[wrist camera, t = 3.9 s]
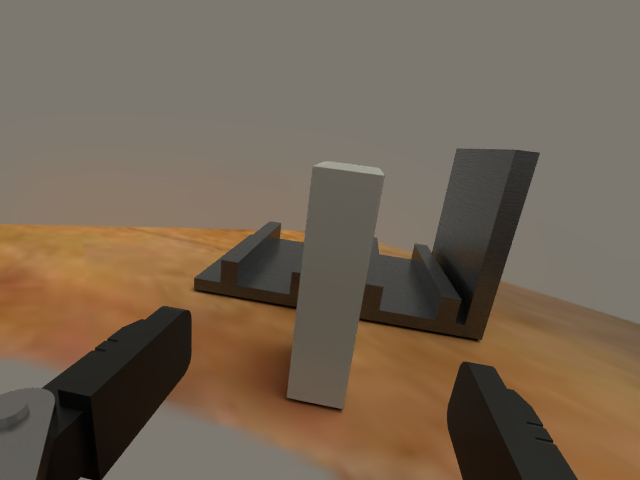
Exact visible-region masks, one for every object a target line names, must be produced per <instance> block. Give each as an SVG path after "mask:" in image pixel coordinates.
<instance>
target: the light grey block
mask: <svg viewBox="0 0 640 480" xmlns="http://www.w3.org/2000/svg"><path fill="white" fill-rule="evenodd" d="M384 177H385V175H384V174H383V173H382V171H381V170H380V168H375V167H368V166H360V165H353V164H345V163H338V162H330V161H325V162H322V163H319V164H317V165H314V166H313V169H312V177H311V186H310V195H309V204H308V213H307V221H306V222H307V223H306V230H305V239H304V248H303V257H302V266H301V274H300V283H299V292H298V301H297V310H296V319H295V327H294V336H293V345H292V354H291V363H290V372H289V380H288V389H287V398H291V399H296V400H301V401H305V402H310V403H315V404H320V405H325V406H330V407H335V408H340V409H343V407H344V401H345V395H346V390H347V384H348V379H349V373H350V367H351V362H352V356H353V351H354V345H355V339H356V334H357V328H358V323H359V317H360V311H361V306H362V300H363V295H364V289H365V283H366V278H367V272H368V266H369V261H370V255H371V250H372V244H373V238H374V233H375V227H376V222H377V216H378V210H379V205H380V199H381V194H382V188H383V182H384Z"/></svg>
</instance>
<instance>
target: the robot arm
mask: <svg viewBox="0 0 640 480" xmlns="http://www.w3.org/2000/svg"><path fill="white" fill-rule="evenodd" d="M191 323H192V319H191V313H190V311H189V310H184V309H179V308H173V307H168V306H163V307H161V308H159V309H158V310H157V311H156V312H154V313H153V314H152V315H150V316H149V317H148V318H147V319H145V320H143V319H141V320H139V321H136V322H134V323H132V324H129V325H127V326H125V327H122V328H121V329H120V330H118V331H117V332H116V333H114V334H113V335H112V336H110V337H109V338H108V340H107V341H104V342H102V343H101V344H100V345H99V346H97V347H96V348H95V350H94V351H91V352H89V353H88V354H87V355H85V356H84V357H83V358H81V359H80V360H79V361H77V362H76V363H75V364H73V365H72V366H71V367H69V368H68V369H67V370H65V371H64V372H63V373H61V374H60V375H59V376H57V377H56V378H55V379H53V380H52V381H51V382H49V383H48V384H47V385H45V386H44V387H43V388H26V389H19V390H15V391H11V392H8V393H5V394H2V395H0V480H78V479H79V478H80V477H83V478H87V479H91V480H102V479H103V477H104V476H105V475H106V474H107V472H108V471H109V470H110V468H111V467H112V466H113V465H114V463H115V462H116V461H117V460H118V458H119V457H120V456H121V455H122V453H123V452H124V451H125V449H126V448H127V447H128V446H129V444H130V443H131V442H132V441H133V439H134V438H135V437H136V436H137V434H138V433H139V432H140V430H141V429H142V428H143V427H144V425H145V424H146V423H147V422H148V420H149V419H150V418H151V417H152V415H153V414H154V413H155V411H156V410H157V409H158V408H159V406H160V405H161V404H162V403H163V401H164V400H165V399H166V397H167V396H168V395H169V394H170V392H171V391H172V390H173V389H174V387H175V386H176V385H177V383H178V382H179V381H180V380H181V378H182V377H183V376H184V374H185V373H186V371H187V369H188V366H189V364H190V360H191ZM447 424H448V430H449V434H450V437H451V441H452V444H453V448H454V451H455V454H456V458H457V461H458V465H459V468H460V472H461V475H462V478H463V480H578V479H577V478H576V476H575V474H574V473H573V471H572V470H571V468H570V467H569V465H568V463H567V462H566V460H565V459H564V457H563V456H562V454H561V452H560V451H559V449H558V448H557V446H556V445H554V444H553V440H552V438H551V437H550V435H549V433H548V432H547V430H546V429H544V428H543V424H542V422H541V421H540V419H539V418H538V416H537V415H536V413H535V411H534V410H533V408H532V407H531V406H530V405H529V404H528V403H527V402H526V401H525V400H524V399H523V398H522V397H521V396H520V395H519V394H517V393H516V392H515V391H514V390H511V389H507V388H506V386H505V385H504V383H503V381H502V380H501V378H500V376H499V374H498V373H497V371H496V369H495V368H494V367H492V366H486V365H481V364H475V363H470V362H463V363H462V364H461V365H460V367H459V371H458V374H457V377H456V381H455V384H454V387H453V391H452V394H451V398H450V401H449V404H448V410H447Z"/></svg>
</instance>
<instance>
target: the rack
mask: <svg viewBox="0 0 640 480" xmlns="http://www.w3.org/2000/svg"><path fill="white" fill-rule="evenodd" d="M539 154H540V153H537V152H529V151H521V150H500V149H498V150H497V149H457V150H456V154H455V158H454V162H453V167H452V171H451V175H450V179H449V184H448V188H447V192H446V196H445V201H444V205H443V209H442V213H441V217H440V221H439V226H438V230H437V234H436V239H435V243H434V247H433V251H432V253H431V251H430V250H429V248H428V246H426V245H420V244H415V245H414V250H413V254H412V259H404V258H398V257H392V256H385V255H379V249H378V241H377V238H375V237H374V238H373V244H372V250H371V255H370V261H369V266H368V272H367V278H366V283H365V289H364V295H363V300H362V306H361V311H360V317H359V318H361V319H366V320H372V321H378V322H383V323H389V324H395V325H400V326H406V327H412V328H417V329H423V330H429V331H434V332H440V333H445V334H451V335H457V336H462V337H468V338H474V339H479V340H482V337H483V334H484V331H485V328H486V324H487V321H488V318H489V315H490V312H491V308H492V305H493V302H494V299H495V295H496V292H497V289H498V286H499V283H500V279H501V276H502V273H503V270H504V266H505V263H506V260H507V257H508V254H509V251H510V247H511V244H512V241H513V238H514V234H515V231H516V228H517V225H518V222H519V218H520V215H521V212H522V209H523V206H524V202H525V199H526V196H527V193H528V189H529V186H530V183H531V180H532V177H533V173H534V170H535V167H536V164H537V161H538V157H539ZM280 231H281V223H277V222H269V223H268V224H266V225H265V226H263V227H262V228H261V229H260V230H258V231H257V232H256V233H255V234H251V235H250V236H248V237H247V238H246V239H244V240H243V241H242V242H240V243H239V244H238V245H237V246H235V247H234V248H233V249H231V250H230V251H229V252H227V253H226V254H225V255H224V256H222V257H221V258H220V259H218V260H217V261H216V262H215V263H213V264H212V265H211V266H209V267H208V268H207V269H205V270H204V271H203V272H202V273H200V274H199V275H198V276H196V277H195V278H194V289H197V290H203V291H208V292H214V293H220V294H225V295H231V296H237V297H242V298H248V299H254V300H259V301H265V302H271V303H276V304H282V305H287V306H293V307H297V301H298V292H299V283H300V274H301V266H302V257H303V248H304V243H303V242H297V241H291V240H284V239H280Z"/></svg>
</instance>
